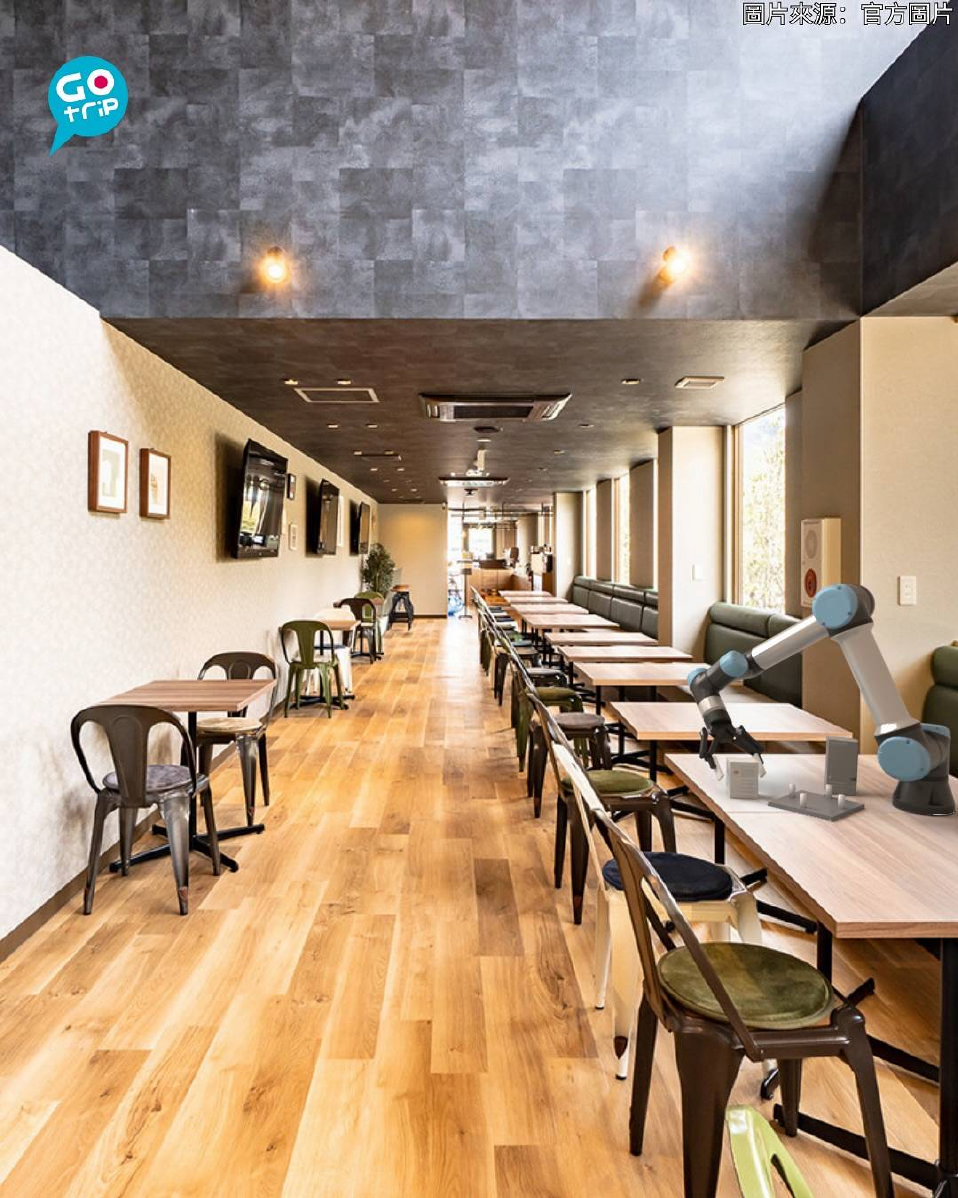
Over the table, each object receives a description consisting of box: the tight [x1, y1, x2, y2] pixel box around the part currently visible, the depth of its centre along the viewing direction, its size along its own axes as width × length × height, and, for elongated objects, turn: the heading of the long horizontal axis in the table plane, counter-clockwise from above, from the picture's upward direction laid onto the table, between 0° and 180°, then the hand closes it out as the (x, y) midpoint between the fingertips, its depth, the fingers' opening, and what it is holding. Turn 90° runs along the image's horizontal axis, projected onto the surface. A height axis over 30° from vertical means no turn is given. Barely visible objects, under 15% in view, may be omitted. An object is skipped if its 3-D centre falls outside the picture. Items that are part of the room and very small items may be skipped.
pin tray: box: [767, 783, 866, 822], centre depth 226 cm, size 18×18×5 cm
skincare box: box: [823, 735, 860, 797], centre depth 241 cm, size 8×7×16 cm
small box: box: [725, 756, 759, 800], centre depth 236 cm, size 8×6×10 cm
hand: (742, 776), depth 236 cm, fingers open, 13 cm apart
